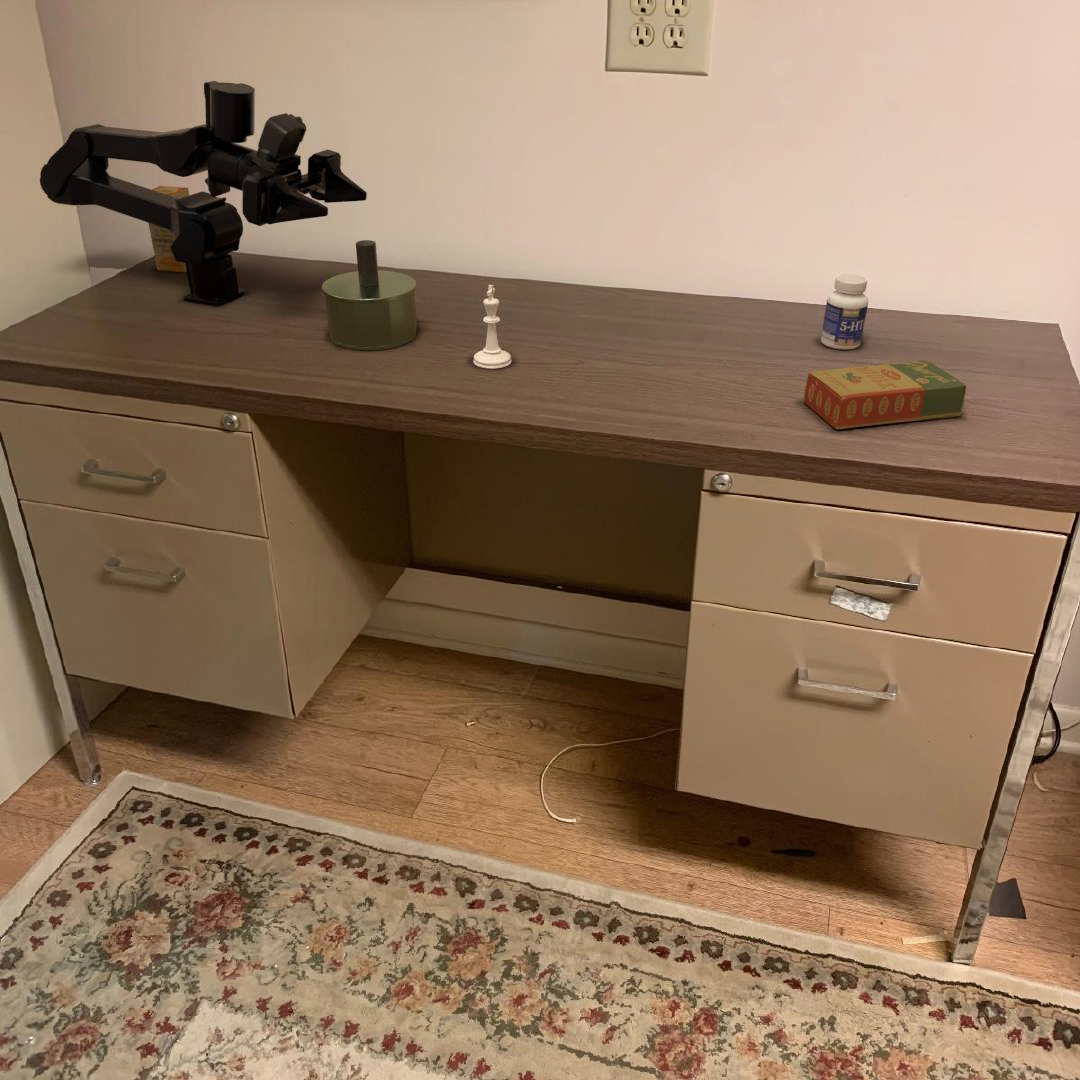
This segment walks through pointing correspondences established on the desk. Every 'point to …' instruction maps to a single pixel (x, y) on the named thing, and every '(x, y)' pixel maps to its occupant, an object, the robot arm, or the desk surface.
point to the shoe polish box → (166, 236)
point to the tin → (372, 323)
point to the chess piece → (491, 338)
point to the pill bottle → (845, 313)
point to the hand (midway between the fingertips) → (347, 204)
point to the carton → (884, 394)
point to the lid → (368, 280)
